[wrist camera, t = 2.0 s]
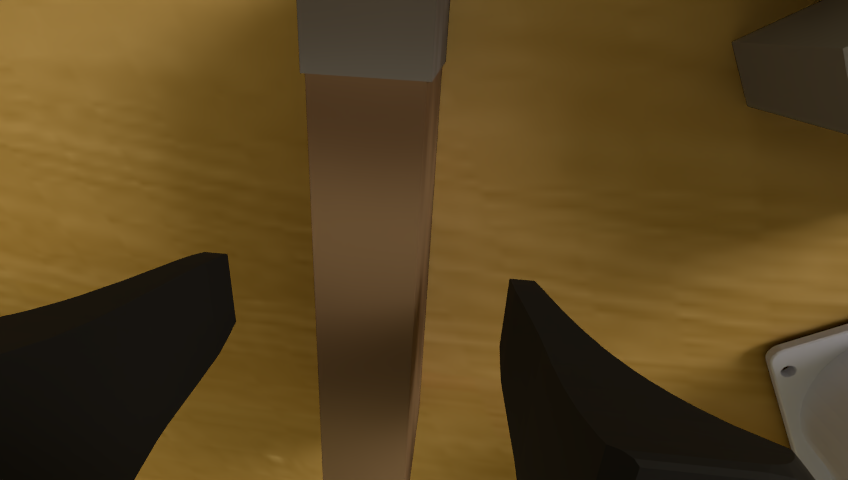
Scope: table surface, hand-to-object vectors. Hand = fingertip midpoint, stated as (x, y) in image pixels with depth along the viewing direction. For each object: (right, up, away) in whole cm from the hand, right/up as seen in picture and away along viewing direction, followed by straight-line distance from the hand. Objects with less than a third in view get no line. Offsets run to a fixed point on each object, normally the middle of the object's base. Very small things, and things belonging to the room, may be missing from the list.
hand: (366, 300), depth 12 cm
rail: (+1, +2, +5) cm, 5 cm away
